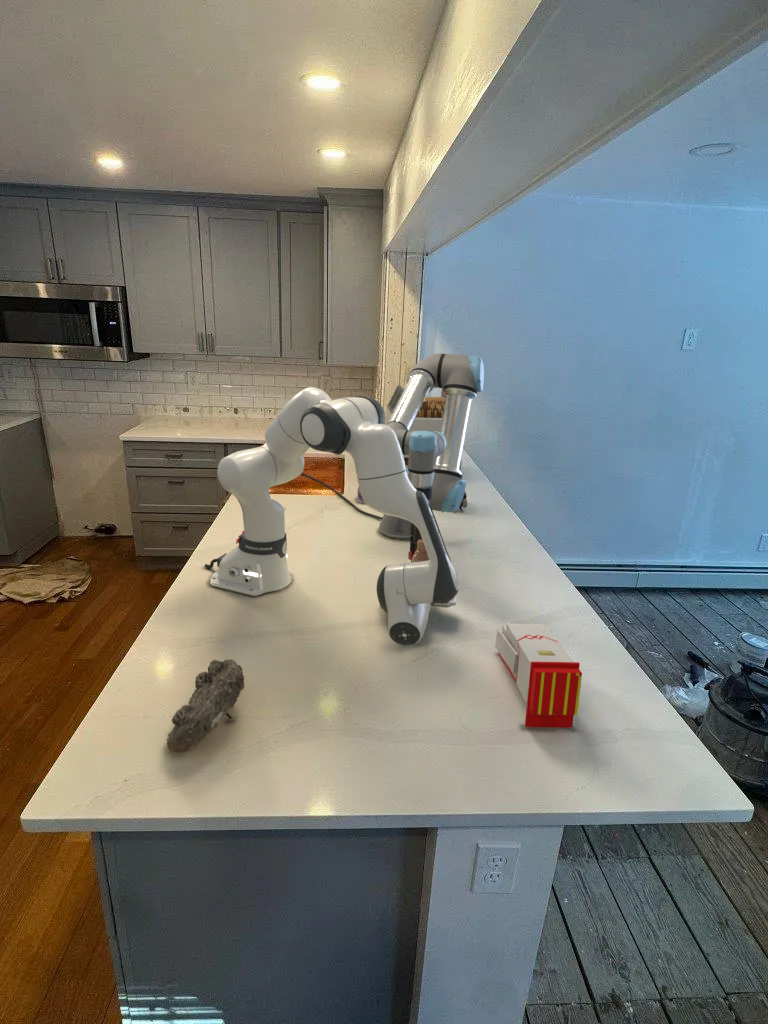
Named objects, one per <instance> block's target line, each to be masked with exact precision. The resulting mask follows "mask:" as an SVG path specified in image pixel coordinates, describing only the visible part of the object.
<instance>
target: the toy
mask: <svg viewBox="0 0 768 1024" xmlns="http://www.w3.org/2000/svg"><path fill="white" fill-rule="evenodd" d="M551 631H552V630H551V629H550V628H548V627H547V625H546V624H545V623H506V625H502V628H501V629H500V628H499V629H497V630H496V636H495V637H496V638H495V644H494V647H495V649H496V651H497V652H498V655H499V657H500V659H501V661H502V662H503V664H504V666H505V667H506V669H507V670H508V672H509V674H510V676H511V677H512V679H513V680H514V682H515V683H516V686H517V688H518V690H519V693H520V694H521V695H522V698H523V700H524V702H525V704H526V708H525V709H526V710H525V721H524V727H525V728H552V729H553V728H555V729H556V728H557V729H562V728H563V729H573V726H574V719H575V716H578V712H579V703H580V695H581V687H582V677H583V672H582V670H580V667H581V665H580V662H578V661H573V659H572V657H570V656H569V655H570V654H568V653H567V651H566V650H565V649H564V647H563V646H562V645H561V644H560V641H558V639H557V638H556V637H555V636H554V634H553V633H552V632H551Z"/></svg>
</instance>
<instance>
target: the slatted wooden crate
mask: <svg viewBox="0 0 768 1024" xmlns="http://www.w3.org/2000/svg"><path fill="white" fill-rule="evenodd" d="M404 389H405V388H403V387H402V385H399V384H398V385H397V386H396V388H395V390H394V392H393V394H392V395H391V398H390V400H389V402H388V404H387V405H386V413H385V424H387V423H388V421H389V419H390V417H391V415H392V413H393V411H394V409H395V407H396V405H397V403H398V401H399V399H400V397H401V395H402V393H403V391H404ZM440 393H441V394H440V396H426V397H425V399H424V402H423V404H422V406H421V408H420V410H419V412H418V414H417V416H416V418H415V420H414V423H413V425H412V427H411V429H410V431H430V432H431V431H438V432H440V429H441V424H442V418H443V412H444V407H445V401H446V396H445V395H444V393H443V388H441V392H440ZM403 458H404V462H405V466H406V467H408V461H409V455H403ZM462 461H463V460H462V457H461V460H460V466H459V470H460V472H461V473H462Z"/></svg>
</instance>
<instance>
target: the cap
mask: <svg viewBox="0 0 768 1024" xmlns="http://www.w3.org/2000/svg"><path fill="white" fill-rule="evenodd" d="M411 553H412V550H410V549H409V551H408V553H407V558H408V560H409V561H411Z"/></svg>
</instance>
